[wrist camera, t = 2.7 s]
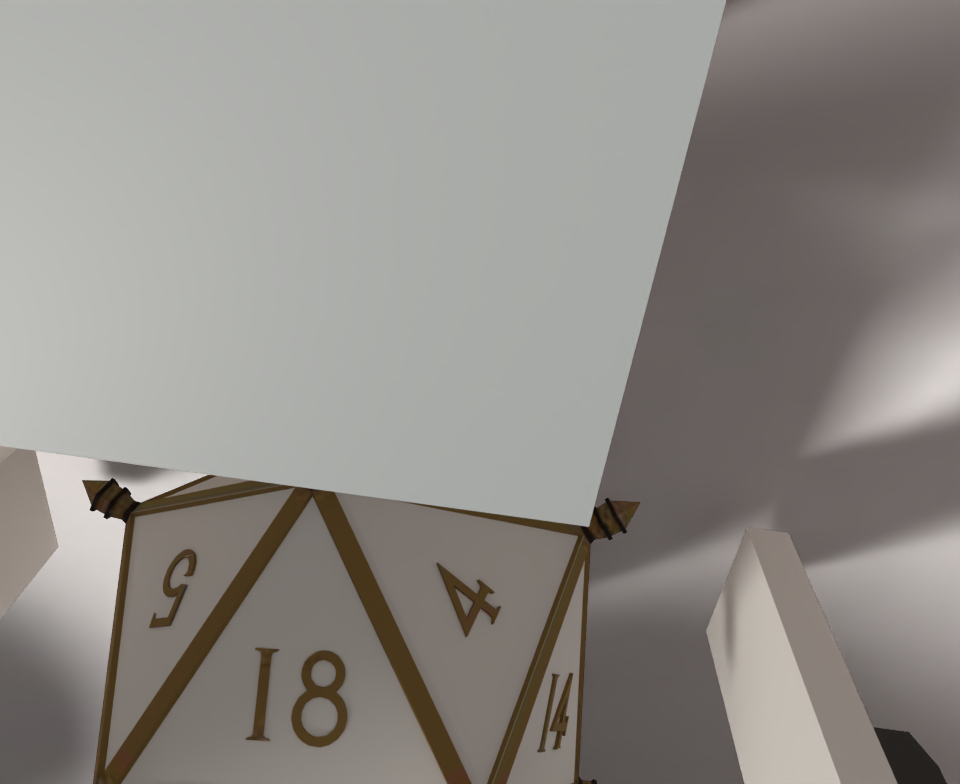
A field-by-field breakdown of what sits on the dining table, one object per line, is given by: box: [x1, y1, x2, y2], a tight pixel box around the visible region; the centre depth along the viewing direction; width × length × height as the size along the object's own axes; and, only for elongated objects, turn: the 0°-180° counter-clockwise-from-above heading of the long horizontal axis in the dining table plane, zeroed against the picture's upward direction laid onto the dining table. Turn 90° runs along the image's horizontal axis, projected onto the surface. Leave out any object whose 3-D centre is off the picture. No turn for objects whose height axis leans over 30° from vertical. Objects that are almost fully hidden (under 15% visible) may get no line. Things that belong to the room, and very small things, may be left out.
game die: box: [82, 475, 640, 784], centre depth 12 cm, size 9×8×10 cm
